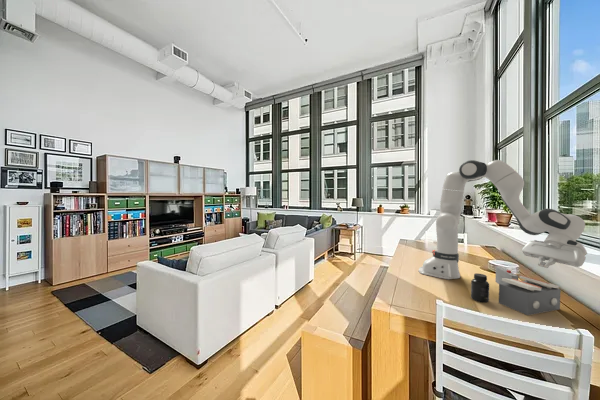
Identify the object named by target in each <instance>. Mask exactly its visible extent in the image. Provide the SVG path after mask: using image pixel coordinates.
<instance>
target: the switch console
mask: <svg viewBox="0 0 600 400" xmlns="http://www.w3.org/2000/svg"><path fill="white" fill-rule="evenodd" d="M522 281H523V282H526V283H529V284H533V285H536V286H539V287H542V288H541V291H539V290H534V291H530V290H527V289H524V288H521V287H518V286H515V285H512V284H509V283H502V284H498V285H499V286H498V304H500V305H503V306H505V307H507V308H509V309H511V310H514V311H517V312H518V311H519V313H520V314H523V313H524V314H523V315H526V316H532V315H536V314H541V313H548V312H553V311H558V310H560V309H561V291H562V290H561V288H559V289H557V288H553V287H552V289H550V288H547V287H543V286H540V285H537V284H534V283H530V282H527V281H525V280H522Z"/></svg>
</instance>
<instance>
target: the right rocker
mask: <svg viewBox="0 0 600 400" xmlns="http://www.w3.org/2000/svg"><path fill="white" fill-rule="evenodd" d="M518 279H522V280H524V281H527V282H530V283H534V284H537V285H540V286H543V287H547V288H550V289H552V287H553V288H557V289H560V285H556V284H554V283H550V282H546V281H544V280H540V279H536V278H533V277H529V276H527V275H522V274H519V275H518Z"/></svg>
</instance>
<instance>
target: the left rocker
mask: <svg viewBox="0 0 600 400" xmlns="http://www.w3.org/2000/svg"><path fill="white" fill-rule="evenodd" d="M502 281H505V282H508V283H509V284H512V285H515V286H518V287H521V288H524V289H527V290H530V291H534V290H539V291H541V288H542V287H539V286H536V285H533V284H529V283H526V282H523V281H524V280H519V279H518V280H517V279H507V278H502Z"/></svg>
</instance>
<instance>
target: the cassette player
mask: <svg viewBox="0 0 600 400" xmlns="http://www.w3.org/2000/svg"><path fill="white" fill-rule="evenodd" d="M502 278H507V279H517V280H519V275H517V274H515V273H513V272H512V270H510V269H508V268H507V267H504V266H503V265H498V266H495V283H496V284H498V285H499V284H502V283H508V282H505V281H502Z"/></svg>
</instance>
